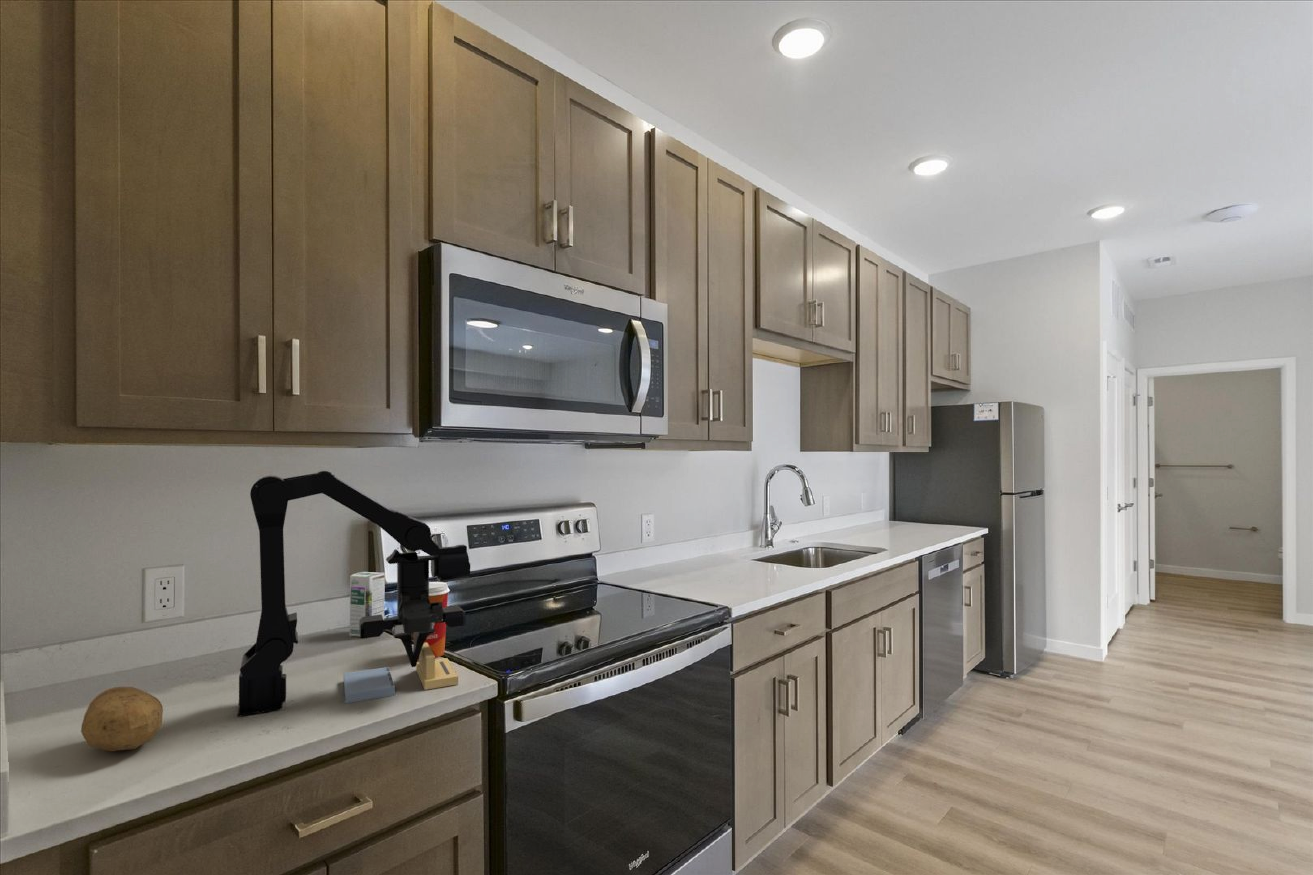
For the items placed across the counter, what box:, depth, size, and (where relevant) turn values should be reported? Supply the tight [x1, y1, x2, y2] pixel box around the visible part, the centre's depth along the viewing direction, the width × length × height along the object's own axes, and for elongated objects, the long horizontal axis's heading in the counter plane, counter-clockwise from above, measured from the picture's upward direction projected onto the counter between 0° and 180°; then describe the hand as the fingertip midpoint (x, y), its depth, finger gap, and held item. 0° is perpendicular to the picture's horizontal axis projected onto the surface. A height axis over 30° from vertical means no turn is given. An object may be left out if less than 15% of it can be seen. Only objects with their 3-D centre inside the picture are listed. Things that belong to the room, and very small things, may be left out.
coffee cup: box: [412, 581, 451, 660], centre depth 140 cm, size 8×8×15 cm
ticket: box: [343, 666, 396, 704], centre depth 121 cm, size 8×12×2 cm, turn 27°
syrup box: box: [348, 571, 386, 638], centre depth 157 cm, size 6×6×14 cm
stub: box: [415, 643, 459, 691], centre depth 127 cm, size 6×12×6 cm, turn 27°
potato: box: [80, 686, 164, 752], centre depth 97 cm, size 10×14×8 cm
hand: (413, 666), depth 125 cm, fingers closed
